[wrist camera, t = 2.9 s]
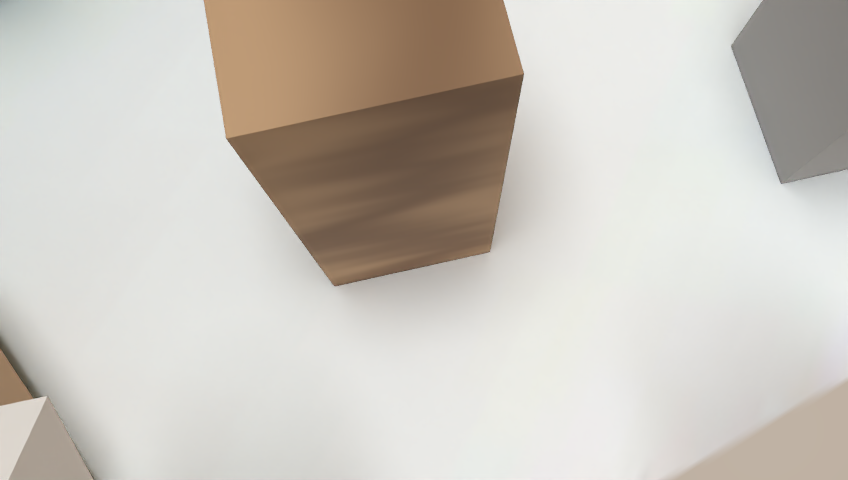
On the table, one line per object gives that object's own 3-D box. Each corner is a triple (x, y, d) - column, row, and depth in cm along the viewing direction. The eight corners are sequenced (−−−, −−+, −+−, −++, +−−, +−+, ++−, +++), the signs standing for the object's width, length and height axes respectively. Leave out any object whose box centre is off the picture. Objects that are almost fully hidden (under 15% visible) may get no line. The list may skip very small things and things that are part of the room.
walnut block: (334, 286, 24) (225, 139, 13) (306, 141, 26) (185, -113, 14) (489, 252, 24) (524, 73, 13) (454, 109, 26) (455, -170, 14)
